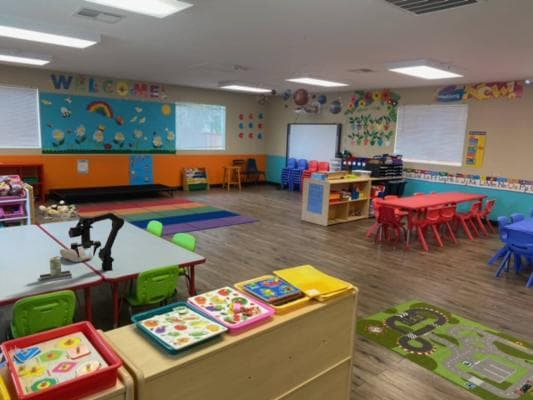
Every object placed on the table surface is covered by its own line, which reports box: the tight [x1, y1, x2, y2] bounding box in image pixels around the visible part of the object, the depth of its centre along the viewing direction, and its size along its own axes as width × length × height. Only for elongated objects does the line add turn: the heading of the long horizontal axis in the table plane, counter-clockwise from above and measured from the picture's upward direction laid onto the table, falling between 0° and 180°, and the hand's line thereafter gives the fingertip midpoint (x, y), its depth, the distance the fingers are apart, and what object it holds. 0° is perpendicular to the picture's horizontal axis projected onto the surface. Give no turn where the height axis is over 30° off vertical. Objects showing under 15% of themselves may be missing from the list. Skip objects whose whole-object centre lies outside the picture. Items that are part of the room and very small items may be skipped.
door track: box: [39, 269, 73, 284], centre depth 265 cm, size 18×10×2 cm, turn 126°
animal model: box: [59, 241, 94, 263], centre depth 303 cm, size 13×26×16 cm
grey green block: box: [49, 256, 62, 276], centre depth 264 cm, size 6×4×12 cm, turn 126°
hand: (86, 257), depth 270 cm, fingers open, 9 cm apart
